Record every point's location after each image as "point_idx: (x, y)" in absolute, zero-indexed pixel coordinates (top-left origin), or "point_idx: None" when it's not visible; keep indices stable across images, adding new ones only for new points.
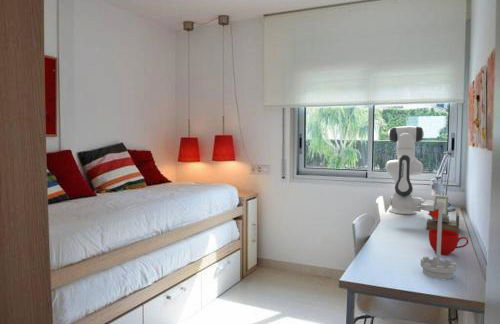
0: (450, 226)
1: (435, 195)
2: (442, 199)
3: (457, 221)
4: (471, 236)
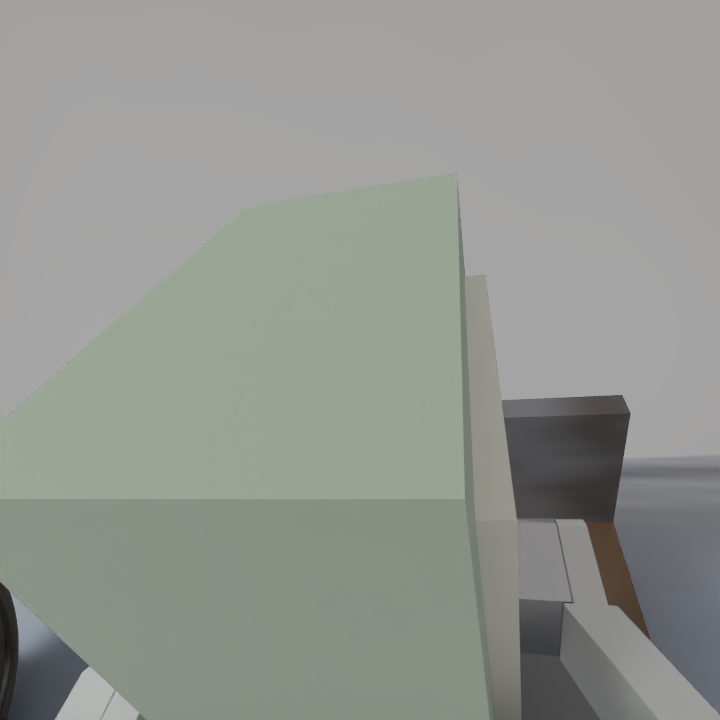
0: (635, 608)
1: (176, 483)
2: (495, 355)
3: (619, 473)
4: (676, 459)
